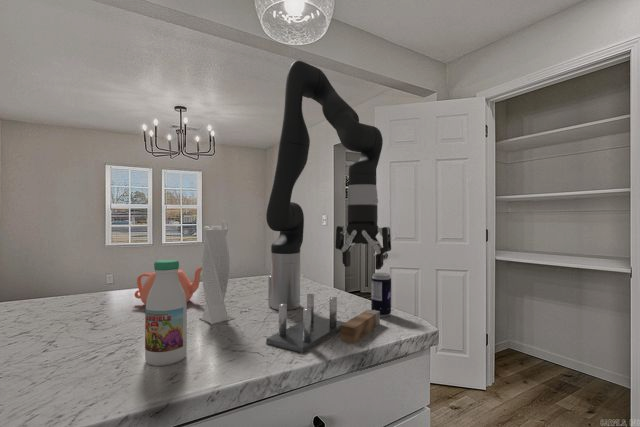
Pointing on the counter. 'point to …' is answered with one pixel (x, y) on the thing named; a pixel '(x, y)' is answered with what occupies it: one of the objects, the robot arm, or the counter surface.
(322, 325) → the peg rack
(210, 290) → the skyscraper
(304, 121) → the robot arm
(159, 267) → the milk bottle
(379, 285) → the beverage can
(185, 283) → the teapot
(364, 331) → the brown wooden bar
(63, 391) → the counter surface
